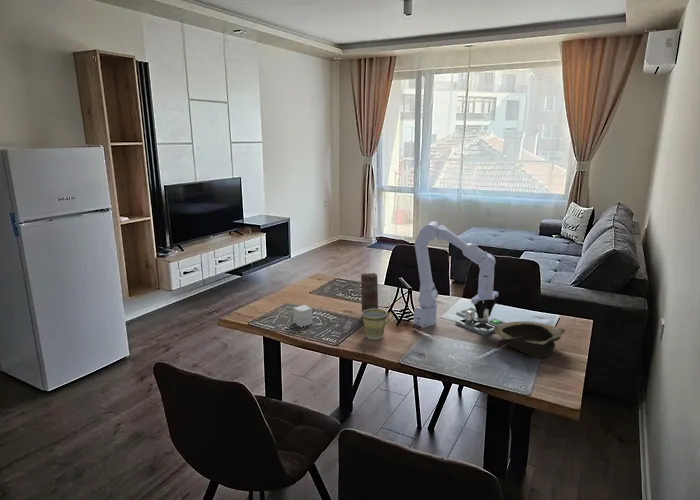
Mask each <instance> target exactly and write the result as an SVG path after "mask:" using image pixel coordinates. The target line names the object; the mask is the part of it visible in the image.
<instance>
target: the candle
mask: <svg viewBox="0 0 700 500" xmlns="http://www.w3.org/2000/svg"><path fill="white" fill-rule="evenodd" d="M360 278H361V279H360V283H361V284H360V285H361V286H360V287H361V289H360V290H361V313H362V312H363V311H364V310H367V309H379V292H378V287H379V286H378V274H377V273H375V272H373V273H361V274H360Z"/></svg>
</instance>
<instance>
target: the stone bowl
mask: <svg viewBox="0 0 700 500" xmlns="http://www.w3.org/2000/svg"><path fill="white" fill-rule="evenodd" d="M493 331H494V333H495V334H496V335H497V336H498V337H500V338H502V340H503V341H504V343H505V344H506V345H507V346H509V347H511V348H513V349H516V350H519V352H522V353H525V355H526V357H527V358H528V359H531V358H534V359H543V358H546V357H549V356H551V355H552V354H553V353H554V349H555V348H556V343H555V342H557V341H559V340H560V339H561V337H562V335H563V334H564V333H566V330H565V328H559V327H558V328H557V327H556V326H554V325H549V324H544V323H541V322H535V321H521V320H519V321H511V322H506V323H502V324H500V325H497V326H495V327H494V330H493Z"/></svg>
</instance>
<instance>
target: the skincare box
mask: <svg viewBox="0 0 700 500" xmlns="http://www.w3.org/2000/svg"><path fill="white" fill-rule="evenodd" d="M292 310H293V324H295V323H296V324H297V325H296V324H295V325H296V326H298V327H299V326H300V327H299V328H304V327H308V326H310V324H311V325H313V324H314V323H313V308H311V307H309V306H308V305H307V304H303V305H299V306H295V307H292ZM307 325H308V326H307ZM303 326H304V327H303Z"/></svg>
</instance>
